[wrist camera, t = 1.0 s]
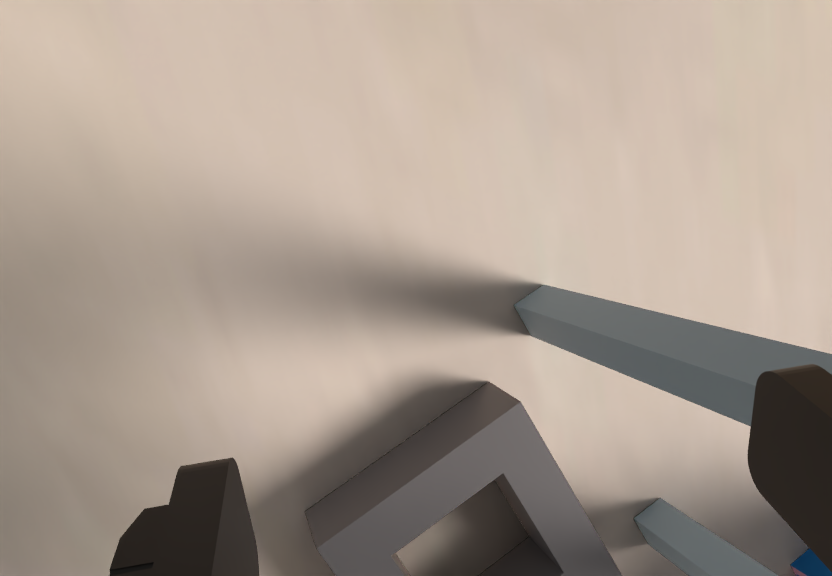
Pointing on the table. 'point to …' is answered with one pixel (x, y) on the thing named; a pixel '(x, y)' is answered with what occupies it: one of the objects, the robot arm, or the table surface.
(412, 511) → the socket
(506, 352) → the table surface
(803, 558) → the box
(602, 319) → the two-legged side table
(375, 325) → the table surface
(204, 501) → the robot arm
